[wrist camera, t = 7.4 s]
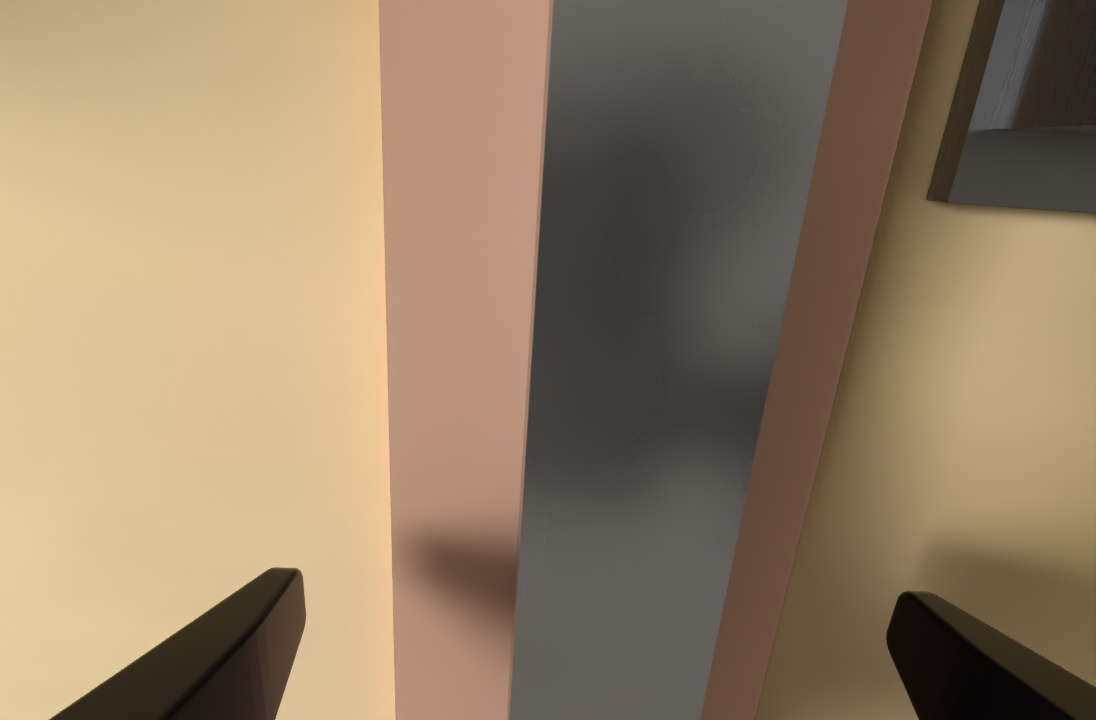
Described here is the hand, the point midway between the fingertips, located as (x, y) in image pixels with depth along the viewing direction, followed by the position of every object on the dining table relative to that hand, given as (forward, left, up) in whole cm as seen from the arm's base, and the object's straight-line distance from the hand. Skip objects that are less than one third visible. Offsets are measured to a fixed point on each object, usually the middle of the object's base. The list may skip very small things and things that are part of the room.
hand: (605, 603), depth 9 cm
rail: (0, 0, -1) cm, 1 cm away
